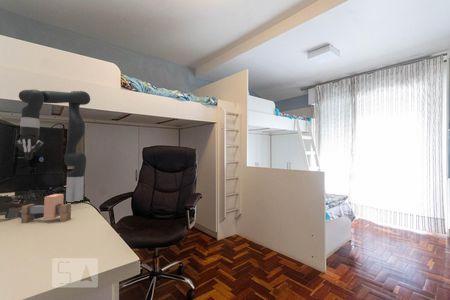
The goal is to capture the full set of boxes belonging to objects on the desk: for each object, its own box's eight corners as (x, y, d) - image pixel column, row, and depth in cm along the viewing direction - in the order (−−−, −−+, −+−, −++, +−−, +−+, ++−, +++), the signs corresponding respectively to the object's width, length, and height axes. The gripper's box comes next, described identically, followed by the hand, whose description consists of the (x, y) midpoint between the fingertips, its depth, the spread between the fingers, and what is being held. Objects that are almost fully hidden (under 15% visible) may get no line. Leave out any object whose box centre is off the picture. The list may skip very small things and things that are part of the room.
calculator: (18, 210, 104) (52, 203, 118) (18, 218, 104) (52, 210, 118) (30, 213, 100) (64, 205, 114) (30, 221, 100) (64, 213, 114)
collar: (53, 214, 103) (54, 194, 103) (62, 214, 103) (63, 194, 104) (43, 218, 96) (44, 196, 96) (53, 218, 96) (54, 196, 97)
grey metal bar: (30, 212, 99) (31, 205, 100) (67, 211, 102) (68, 204, 102) (25, 214, 96) (25, 206, 96) (63, 213, 99) (63, 206, 99)
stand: (29, 219, 100) (30, 204, 100) (70, 218, 103) (71, 203, 103) (21, 223, 95) (21, 206, 95) (64, 221, 98) (65, 205, 98)
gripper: (48, 128, 115) (47, 159, 115) (21, 127, 113) (20, 159, 113) (38, 126, 108) (37, 159, 107) (9, 125, 106) (8, 159, 105)
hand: (28, 159), depth 110 cm, fingers closed
